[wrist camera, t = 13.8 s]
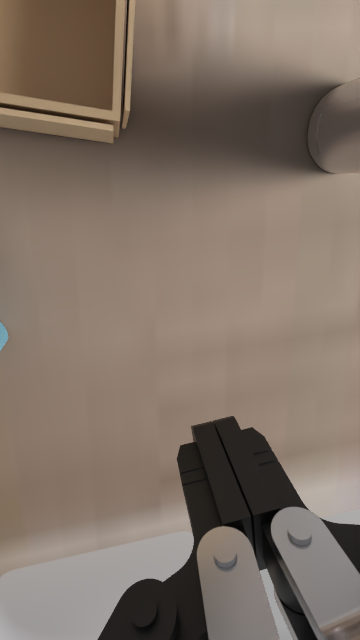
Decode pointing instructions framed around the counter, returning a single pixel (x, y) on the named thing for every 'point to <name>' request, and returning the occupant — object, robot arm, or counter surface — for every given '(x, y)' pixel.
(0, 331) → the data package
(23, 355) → the counter surface
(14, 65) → the carton
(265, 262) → the counter surface
